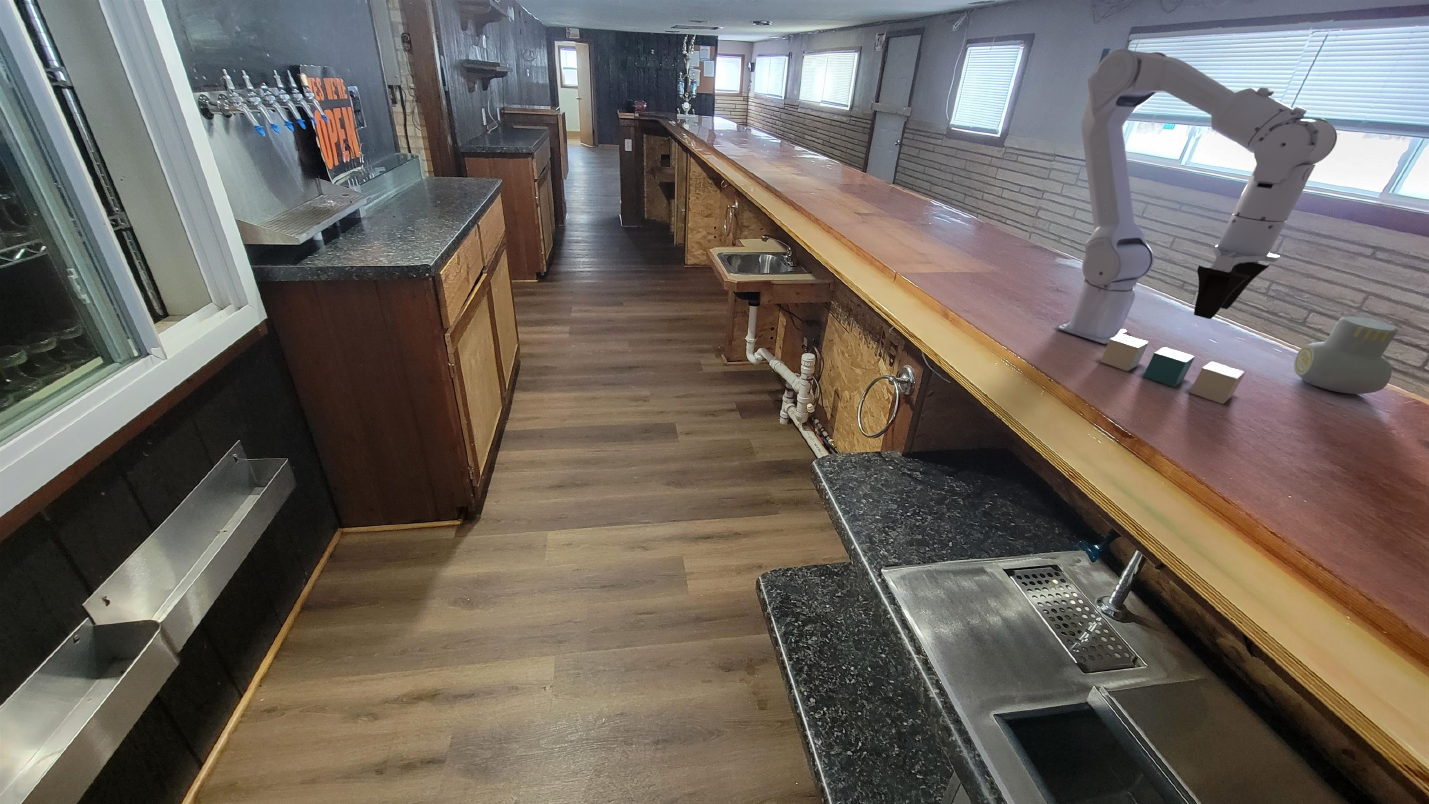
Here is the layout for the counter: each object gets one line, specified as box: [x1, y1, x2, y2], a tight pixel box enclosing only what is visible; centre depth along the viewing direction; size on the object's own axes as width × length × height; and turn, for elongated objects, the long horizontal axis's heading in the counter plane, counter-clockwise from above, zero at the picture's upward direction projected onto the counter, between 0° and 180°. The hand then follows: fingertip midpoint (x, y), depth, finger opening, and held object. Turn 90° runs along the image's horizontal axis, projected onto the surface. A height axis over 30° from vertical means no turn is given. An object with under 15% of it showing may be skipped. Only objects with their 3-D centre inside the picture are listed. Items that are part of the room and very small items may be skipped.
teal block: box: [1142, 346, 1196, 388], centre depth 84 cm, size 4×4×4 cm
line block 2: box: [1189, 361, 1246, 405], centre depth 80 cm, size 4×4×4 cm
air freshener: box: [1293, 315, 1399, 395], centre depth 82 cm, size 11×8×10 cm
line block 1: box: [1100, 334, 1149, 372], centre depth 88 cm, size 4×4×4 cm
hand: (1211, 311), depth 83 cm, fingers open, 7 cm apart
